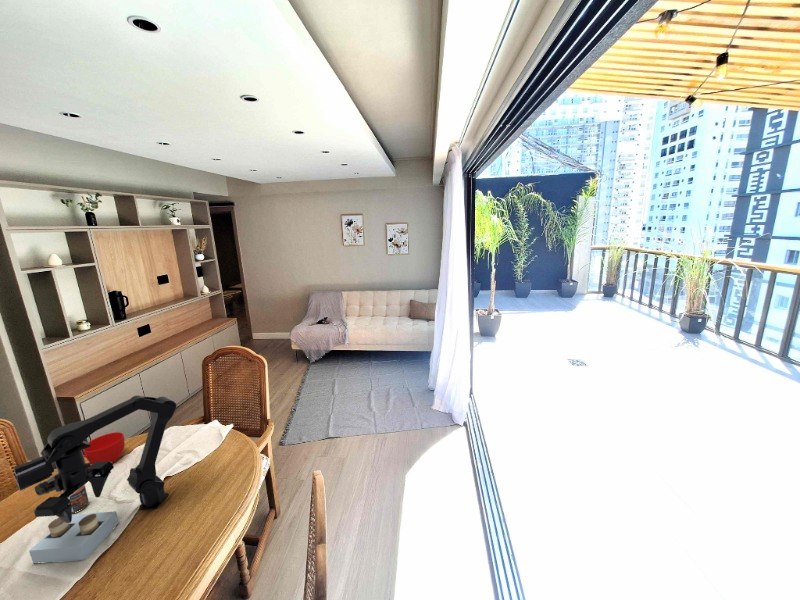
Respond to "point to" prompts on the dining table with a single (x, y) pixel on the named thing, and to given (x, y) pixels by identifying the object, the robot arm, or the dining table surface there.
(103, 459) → the ceramic cup
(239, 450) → the dining table surface
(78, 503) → the supplement bottle
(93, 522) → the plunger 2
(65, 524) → the plunger
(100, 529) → the block
